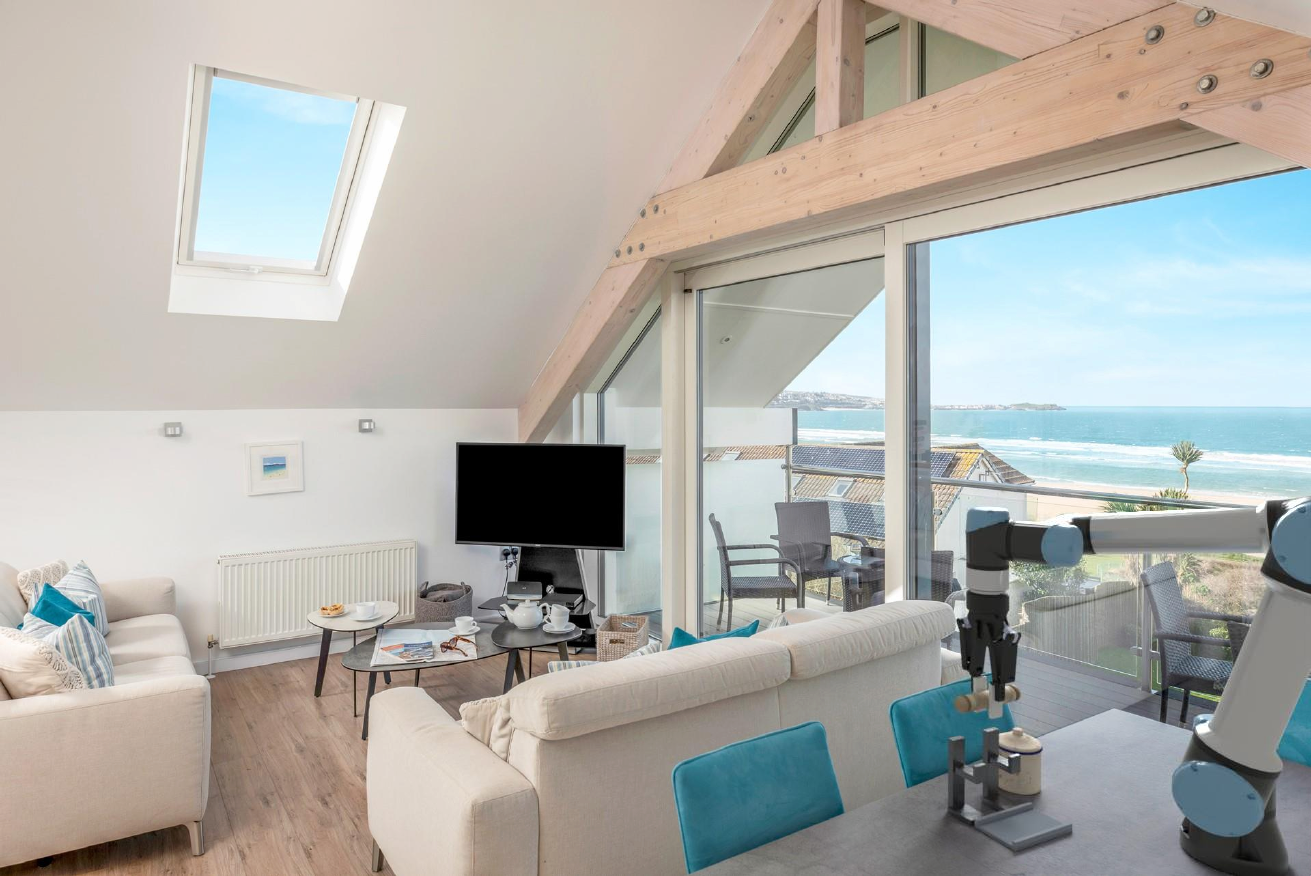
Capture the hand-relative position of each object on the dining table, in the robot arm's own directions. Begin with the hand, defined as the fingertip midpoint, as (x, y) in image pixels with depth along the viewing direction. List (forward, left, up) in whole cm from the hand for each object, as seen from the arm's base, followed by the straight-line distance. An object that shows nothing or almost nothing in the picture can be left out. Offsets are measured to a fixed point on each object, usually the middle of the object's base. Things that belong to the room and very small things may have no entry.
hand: (987, 713), depth 153 cm
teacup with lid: (+5, -13, -19) cm, 24 cm away
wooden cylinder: (0, 0, +1) cm, 2 cm away
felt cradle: (-7, -1, -19) cm, 20 cm away
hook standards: (0, 0, -19) cm, 19 cm away
